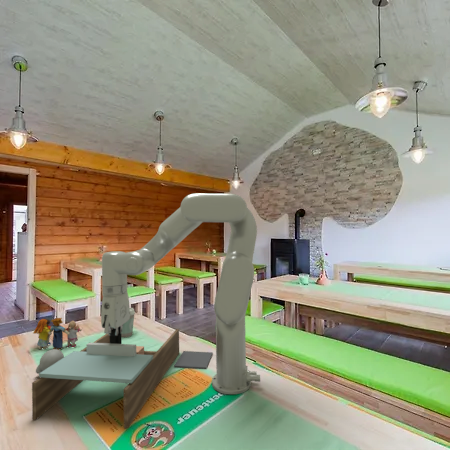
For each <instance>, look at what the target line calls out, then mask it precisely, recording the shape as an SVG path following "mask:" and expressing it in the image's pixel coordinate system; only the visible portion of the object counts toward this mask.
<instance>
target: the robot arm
mask: <svg viewBox="0 0 450 450" xmlns="http://www.w3.org/2000/svg"><path fill="white" fill-rule="evenodd" d="M202 223H228V224H229V226H230V235H229V241H228V246H227V251H226V255H225V258H224V260H223V263H222V266H221V267H222V268H221V272H220V277H219V281H218V287H217V291H216V294H215V297H214V303H213V309H214V310H213V311H214V314H215V351H216V352H215V354H216V355H215V356H216V357H215V361H216V363H215V364H216V367H215V368H216V373H215V374H214V376H213V377H212V379H211V386H212V388H213V389H214V390H215V391H216V392H219V393H221V394H223V395H238V394H242V393H244V392H246V391H248V390H249V389H250V388H251V386H252V382H257V383H258V382H261V374H258V372H257V371H255V370H254V371H253V370H252V371H251V370H249V369H248V365H247V361H246V360H247V358H246V352H247V351H246V347H247V346H246V313H247V309H248V305H249V302H250V296H251V292H252V288H253V283H254V277H255V267H254V264H253V258H254V253H255V247H256V241H257V234H258V229H257V228H258V226H257V221H256V219H255V217H254V215H253V212H252V211H251V210H250V209H249V207H248V205H247V202H246V201H245V199H244V198H243V197H242V196H241V195H238V194H235V193H202V192H201V193H198V192H197V193H196V192H195V193H191V194H187V195H186V196H185V197H184V198H183V199H182V201H181V202H180V207H179V208H177V209H176V210H175V211H174V212H173V213H171V215H169V216H168V217H167V218H165V220H163V222H161V224H160V225H159V227H158V231H157V233H156V234H155V235H154V236H153V237H152V238H151V239H150V240H149V241H148V242H147V243H146V244H145V245H144V246H142V247H141V248H140V249H137V250H134V251H128V252H125V251H119V250H117V251H105V252H104V253H103V254H102V256H101V280H102V281H101V282H102V284H101V285H102V286H101V287H102V289H101V291H102V292H101V294H102V295H101V296H102V301H101V309H100V310H101V312H100V322H101V323H100V325H101V328H102V329H104V332H103V334H109V335H110V343H111V344H123V343H122V340H123V339H122V337H121V333H122V327H123V324H124V323H125V322H127V321H128V320H129V319H130V308H131V306H130V298H129V294H128V276H138V275H141V274H143V273H145V272H146V271H149V270H151V268H153V267H154V266H156V264H157V263H158V262H159V261H161V260H162V259H163V258H165V256H166V255H168V253H169V252H171V251H172V250H174V248H175V247H177V246H178V245H179V244H180V243H181V242H182V241H183V240H185V239H186V238H187V236H189V235H190V234H191V233H192V232H193V231H195V229H197V228H198V227H199V226H200V225H201V224H202Z"/></svg>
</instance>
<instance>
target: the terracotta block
mask: <svg viewBox="0 0 450 450" xmlns="http://www.w3.org/2000/svg"><path fill="white" fill-rule="evenodd" d="M144 351H145V346H144V345H143V346H142V345H141V346H140V345H136V354H141V355H144Z"/></svg>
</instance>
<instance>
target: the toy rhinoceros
mask: <svg viewBox="0 0 450 450" xmlns="http://www.w3.org/2000/svg"><path fill="white" fill-rule="evenodd" d="M64 357H65V356H64V353H63V352H62V351H61V350H57V349H53V348H52V349H49V350H47V351H46V352H44V353H43V354H42V356H41V358H40V360H39V364H38V366H37V367H36V369H35V373H36V374H38V375H39V373H41V372H42V371H44V370H45V369H47V368H48V367H50V366H52V365H53V364H55V363H56V362H58V361H59V360H61V359H62V358H64Z"/></svg>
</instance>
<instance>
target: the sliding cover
mask: <svg viewBox="0 0 450 450" xmlns="http://www.w3.org/2000/svg"><path fill="white" fill-rule="evenodd" d="M85 345H86V347H87V352H83V351H81V350H80V351H79V350H73V351H72V352H70V353H69V354H67V355H65V356H64V358H62V359H61V360H59V361H58V362H56V363H55V364H53V365H52V366H50V367H48V368H47V369H45V370H44V371H42V372H41V373H39V374H38V378H40V377H43V378H57V379H72V380H83V381H89V382H103V383H104V382H105V383H116V384H117V383H118V384H119V383H120V384H129V383H132V382H133V381H134V380H135V379H136V378H137V377H138V375H139V374H140V373H141V372H142V371H143V370H144V368H145V367H146V366H147V365H148V364H149V363H150V361H151V360H152V359H153V355H141V354H136V346H137V344H129V343H122V344H111V343H93V342H88V343H86V344H85Z"/></svg>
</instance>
